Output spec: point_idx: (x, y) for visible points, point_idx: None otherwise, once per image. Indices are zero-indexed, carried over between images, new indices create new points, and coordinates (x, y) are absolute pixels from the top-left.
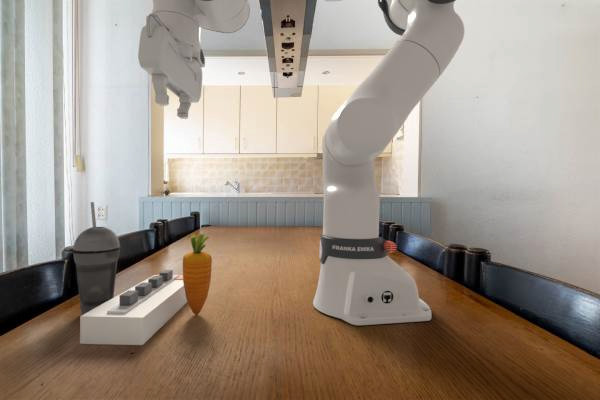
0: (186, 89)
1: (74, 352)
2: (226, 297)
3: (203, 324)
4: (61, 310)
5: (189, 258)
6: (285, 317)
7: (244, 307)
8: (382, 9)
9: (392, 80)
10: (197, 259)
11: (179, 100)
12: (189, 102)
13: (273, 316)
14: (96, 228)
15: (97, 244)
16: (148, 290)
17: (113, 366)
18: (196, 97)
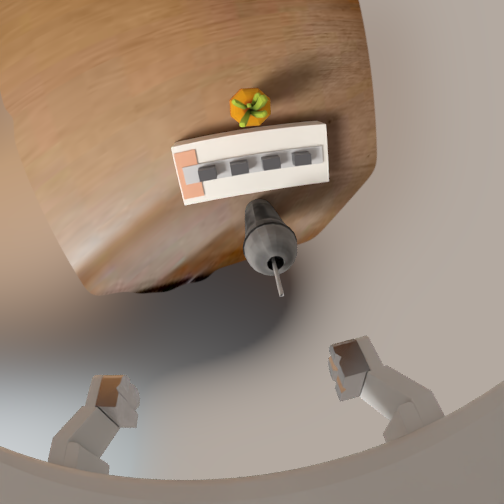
0: (158, 487)
1: (332, 167)
2: (176, 95)
3: (266, 84)
4: None
5: (270, 110)
6: (229, 6)
7: (207, 58)
8: None
9: None
10: (269, 98)
11: (108, 468)
12: (72, 442)
13: (228, 19)
14: (283, 258)
15: (291, 236)
16: (269, 156)
17: (347, 124)
18: (14, 463)
